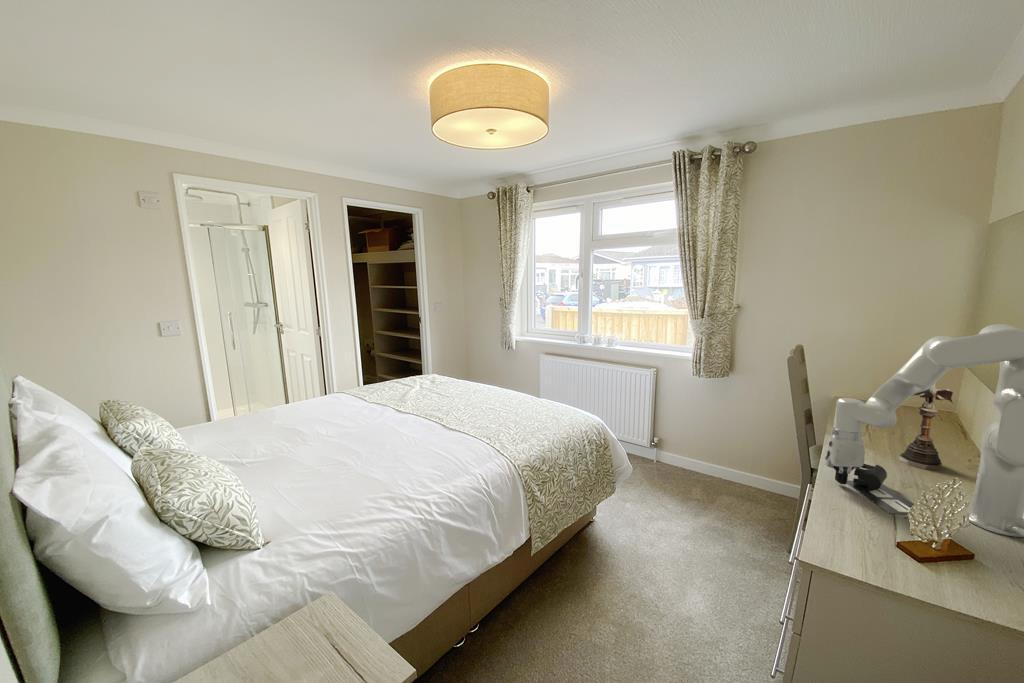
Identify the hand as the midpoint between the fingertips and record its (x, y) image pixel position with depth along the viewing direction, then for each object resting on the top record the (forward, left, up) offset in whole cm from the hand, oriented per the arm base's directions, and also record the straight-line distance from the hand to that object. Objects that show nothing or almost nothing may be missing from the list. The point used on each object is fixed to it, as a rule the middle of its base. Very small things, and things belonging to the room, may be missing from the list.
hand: (840, 482), depth 138 cm
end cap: (0, -9, -1) cm, 9 cm away
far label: (-2, -9, -1) cm, 10 cm away
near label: (-12, -9, -1) cm, 15 cm away
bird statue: (+23, -43, -2) cm, 49 cm away
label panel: (-6, -9, -1) cm, 11 cm away
